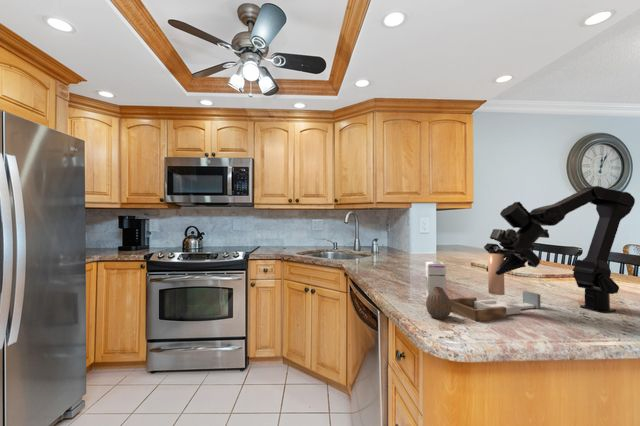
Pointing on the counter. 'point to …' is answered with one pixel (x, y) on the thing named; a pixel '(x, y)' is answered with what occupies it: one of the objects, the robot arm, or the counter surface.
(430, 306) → the vase
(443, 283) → the syrup box
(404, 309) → the counter surface
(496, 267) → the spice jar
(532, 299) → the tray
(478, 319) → the dock
